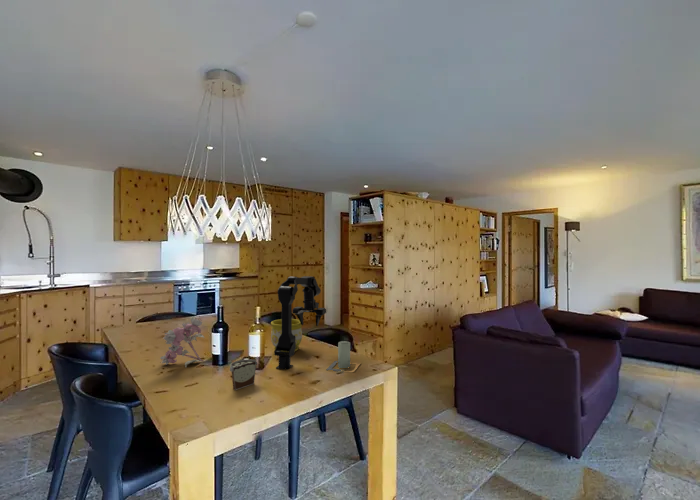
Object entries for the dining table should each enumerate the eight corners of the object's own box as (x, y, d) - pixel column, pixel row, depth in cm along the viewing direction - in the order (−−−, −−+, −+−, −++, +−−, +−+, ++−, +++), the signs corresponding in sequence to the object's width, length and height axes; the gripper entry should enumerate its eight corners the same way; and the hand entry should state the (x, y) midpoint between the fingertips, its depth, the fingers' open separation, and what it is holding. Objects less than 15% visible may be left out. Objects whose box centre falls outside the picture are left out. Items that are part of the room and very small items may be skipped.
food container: (248, 379, 159) (248, 357, 159) (257, 382, 155) (257, 359, 155) (223, 387, 150) (223, 363, 150) (231, 391, 146) (232, 367, 146)
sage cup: (348, 369, 173) (348, 344, 173) (336, 368, 175) (336, 343, 175) (351, 365, 179) (351, 341, 179) (340, 364, 180) (340, 340, 180)
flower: (194, 350, 198) (173, 313, 190) (221, 352, 186) (200, 312, 178) (164, 376, 182) (140, 336, 174) (191, 380, 170) (167, 338, 162)
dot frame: (354, 373, 168) (354, 372, 168) (326, 370, 172) (326, 369, 172) (361, 364, 182) (361, 363, 182) (334, 361, 185) (334, 360, 185)
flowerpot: (264, 351, 202) (264, 323, 202) (283, 344, 218) (283, 317, 218) (290, 356, 194) (290, 326, 194) (308, 348, 210) (308, 320, 210)
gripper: (329, 296, 206) (330, 323, 206) (300, 295, 212) (301, 321, 213) (321, 300, 195) (322, 328, 196) (291, 298, 201) (292, 326, 202)
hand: (309, 325), depth 202 cm, fingers open, 9 cm apart
